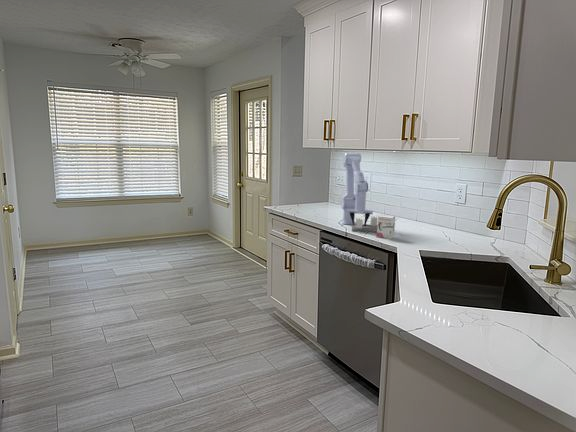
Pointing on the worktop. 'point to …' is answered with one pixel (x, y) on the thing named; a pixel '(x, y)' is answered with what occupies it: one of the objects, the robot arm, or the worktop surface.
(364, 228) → the console
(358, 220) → the near fader knob
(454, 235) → the worktop surface
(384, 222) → the ink box
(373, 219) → the far fader knob
